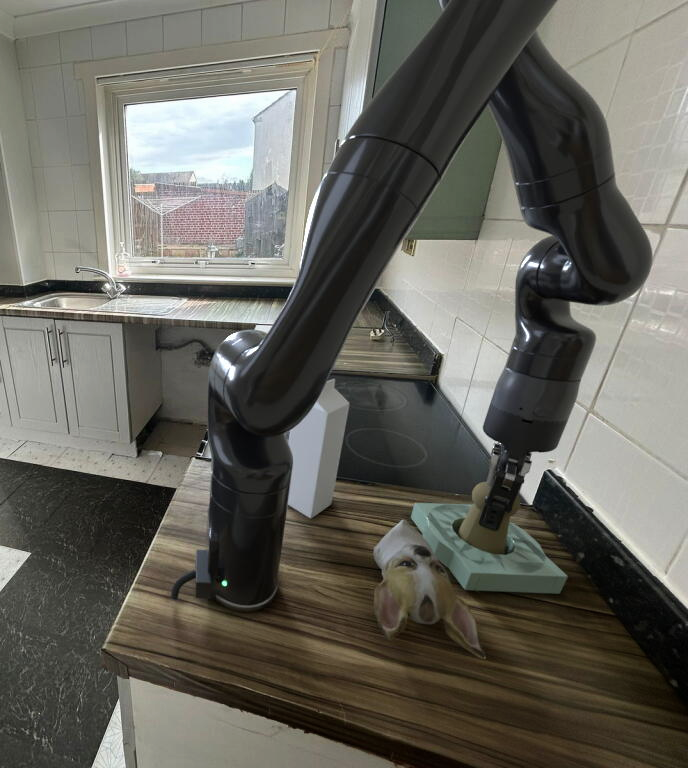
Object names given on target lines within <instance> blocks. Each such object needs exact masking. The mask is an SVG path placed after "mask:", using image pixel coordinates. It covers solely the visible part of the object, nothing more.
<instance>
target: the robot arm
mask: <svg viewBox="0 0 688 768" xmlns="http://www.w3.org/2000/svg"><path fill="white" fill-rule="evenodd" d="M438 1H439V5H440V7H441V9H442V12H441V13H440V14H439V16H438V17H437V18H436V20H435V21H434V23H433V24H432V25H431V26H430V28H429V29H428V31H426V33H425V34H424V35H423V37H422V38H421V39H420V40H419V41H418V43H417V44H416V45H415V46H414V47H413V49H412V50H411V51H410V52H409V53H408V55H407V56H406V57H405V58H404V60H403V61H402V62H400V64H399V65H398V66H397V67H396V69H395V70H394V71H393V72H392V74H390V76H389V77H388V78H387V80H386V81H385V82H384V83H383V85H382V86H381V87H380V88H379V89H378V91H377V92H376V93H375V94H374V95H373V97H372V98H371V100H370V101H369V102H368V103H367V105H366V106H365V107H364V109H363V110H362V112H360V114H359V116H358V117H357V118H356V120H355V121H354V123H353V125H352V126H351V127H350V129H349V131H348V132H347V134H346V136H345V137H344V139H343V141H342V142H341V144H340V146H339V148H338V150H337V151H336V153H335V155H334V157H333V159H332V161H331V163H330V164H329V167H328V169H327V170H326V172H325V174H324V176H323V177H322V179H321V181H320V183H319V186H318V188H317V190H316V192H315V194H314V197H313V198H312V202H311V205H310V209H309V212H308V217H307V221H306V226H305V231H304V238H303V244H302V251H301V257H300V264H299V267H298V271H297V274H296V278H295V281H294V284H293V287H292V289H291V291H290V293H289V295H288V297H287V300H286V301H285V303H284V305H283V306H282V308H281V310H280V312H279V313H278V315H277V317H276V318H275V320H274V321H273V323H272V326H271V327H270V329H269V330H268V331H267V332H266V331H263V330H259V329H244V330H240V331H236V332H235V333H233V334H231V335H229V336H228V337H226V338H225V339H224V340H223V341H222V342H221V343H220V344H219V345H218V347H217V348H216V350H215V351H214V354H213V356H212V358H211V360H210V365H209V370H208V377H207V409H206V410H207V412H206V413H207V414H206V415H207V417H206V419H207V421H206V424H207V425H206V426H207V427H206V428H207V429H206V430H207V431H206V432H207V441H208V446H209V452H210V482H209V501H208V503H209V504H208V507H207V513H206V515H207V516H206V533H205V534H206V535H205V536H206V537H205V549H196V550H195V564H194V565H195V569H192V570H190V571H188V572H187V573H184V574H183V575H181V576H180V577H178V578H177V579H176V581H174V584H172V585H173V586H172V587H171V593H170V598H171V600H175V601H177V600H178V598H179V595H180V594H179V593H180V589H181V588H182V587H183V586H184V585H185V584H186V583H188V582H190V581H192V580H194V579H195V599H205V600H206V599H207V600H212V601H216V602H217V603H219V604H220V605H222V606H223V607H225V608H228V609H230V610H233V611H235V612H241V613H252V612H253V613H254V612H257V611H260V610H263V609H265V608H266V607H269V605H271V603H272V602H273V601H274V600H275V598H276V597H277V594H278V593H277V592H278V587H279V586H278V585H279V571H280V565H281V557H282V549H283V542H284V537H285V536H284V534H285V528H286V519H287V512H288V506H289V505H288V499H289V491H290V484H291V476H292V469H293V455H292V452H291V449H290V446H289V444H288V443H289V440H288V439H287V436H286V433H288V432H290V430H291V429H293V428H294V427H295V426H297V425H298V424H299V423H300V422H301V421H302V420H303V419H304V418H305V417H306V416H307V415H308V413H309V412H310V411H311V409H312V408H313V406H314V405H315V403H316V401H317V399H318V398H319V396H320V394H321V392H322V390H323V388H324V386H325V384H326V382H327V381H329V378H330V376H331V374H332V372H333V369H334V367H335V365H336V363H337V362H338V359H339V357H340V355H341V353H342V351H343V348H344V347H345V344H346V342H347V340H348V338H349V337H350V334H351V332H352V330H353V329H354V326H355V325H356V322H357V321H358V319H359V317H360V315H361V313H362V311H363V310H364V308H365V306H366V305H367V303H368V301H369V299H370V298H371V296H372V294H373V293H374V292H375V289H376V288H377V287H378V284H379V283H380V281H381V279H382V277H383V276H384V274H385V272H386V270H387V268H388V267H389V265H390V263H391V262H392V260H393V259H394V257H395V255H396V253H397V251H399V249H400V247H401V245H402V243H403V242H404V241H405V238H406V237H408V235H409V233H410V232H411V230H412V229H413V227H414V226H415V224H416V223H417V221H418V219H419V218H420V216H421V214H422V213H423V211H425V208H426V207H427V205H428V203H429V201H430V200H431V198H432V197H433V195H434V193H435V192H436V190H437V189H438V187H439V185H440V183H441V182H442V180H443V178H444V176H445V175H446V173H447V171H448V169H449V167H450V166H451V164H452V162H453V161H454V159H455V157H456V156H457V154H458V152H459V150H460V149H461V147H462V145H463V144H464V142H465V141H466V139H467V137H468V136H469V135H470V132H471V131H472V129H473V128H474V127H475V125H476V123H477V122H478V120H479V119H480V117H481V115H482V114H483V112H484V111H485V109H486V108H487V107H488V109H489V111H490V113H491V117H492V119H493V120H494V122H495V125H496V127H497V130H498V133H499V135H500V138H501V141H502V144H503V146H504V150H505V154H506V158H507V161H508V164H509V169H510V174H511V176H512V181H513V185H514V189H515V194H516V198H517V202H518V206H519V211H520V214H521V217H522V220H523V222H524V224H526V225H527V226H528V227H529V228H531V229H533V230H537V231H539V232H542V233H546V234H548V235H549V236H547V237H545V238H543V239H541V240H539V241H538V242H536V243H535V244H534V245H533V246H532V247H531V248H530V249H529V250H528V251H527V252H526V254H525V256H524V257H523V259H522V260H521V262H520V264H519V265H518V266H519V267H518V268H517V272H516V277H515V282H514V283H515V286H514V296H515V297H514V324H515V325H514V326H515V333H514V334H515V335H514V338H513V341H512V343H511V347H510V350H509V353H508V355H507V359H506V362H505V365H504V368H503V370H502V372H501V374H500V376H499V377H498V379H497V382H496V385H495V387H494V390H493V393H492V397H491V400H490V403H489V406H488V409H487V412H486V416H485V418H484V422H483V425H482V431H483V433H484V434H485V435H486V436H487V437H488V438H489V439H491V440H493V441H494V443H493V445H492V448H491V452H490V455H491V456H490V459H489V464H488V466H487V467H488V470H489V471H488V473H487V475H486V480H485V482H487V484H488V485H489V489H488V493H487V496H485V498H484V500H485V504H484V507H483V510H482V513H481V515H480V518H479V525H480V526H482V527H485V528H487V529H490V530H493V531H498V530H499V528H500V525H501V523H502V520H503V517H504V515H505V512H506V513H510V511H512V506H513V504H514V501H515V499H516V497H517V495H518V494H519V493H520V492H521V489H522V486H523V484H524V483H525V478H526V475H527V474H529V473H530V471H531V467H532V463H533V460H531V458H532V454H533V453H549V452H552V451H554V450H556V449H557V448H558V446H559V444H560V442H561V439H562V436H563V433H564V431H565V428H566V426H567V423H568V421H569V419H570V416H571V414H572V412H573V409H574V407H575V405H576V402H577V398H578V395H579V390H580V385H581V382H582V379H583V377H584V374H585V371H586V369H587V366H588V365H589V363H590V359H591V356H592V354H593V352H594V349H595V346H596V343H597V335H596V333H595V331H594V330H593V329H591V328H589V327H588V326H587V325H585V324H583V323H580V322H579V321H577V320H576V319H574V317H573V316H572V313H571V303H575V304H580V305H586V306H594V307H595V306H596V307H597V306H598V307H599V306H600V307H601V306H602V307H603V306H604V307H605V306H611V305H616V304H619V303H621V302H623V301H625V300H627V299H629V298H631V297H632V296H634V294H636V293H637V292H638V291H639V290H640V289H641V288H642V287H643V286H644V285H645V283H646V281H647V279H648V278H649V276H650V273H651V270H652V268H653V267H652V265H653V261H654V260H653V258H654V257H653V248H652V244H651V241H650V237H648V234H647V232H646V231H645V229H644V227H643V226H642V224H641V222H640V220H639V219H638V217H637V215H636V213H635V212H634V211H633V208H632V206H631V205H630V203H629V201H628V200H627V198H626V196H624V195H623V193H622V192H621V190H620V189H619V188H618V185H617V180H616V172H615V164H614V157H613V156H614V155H613V150H612V143H611V137H610V131H609V127H608V122H607V120H606V118H605V114H604V113H603V111H602V109H601V107H600V106H599V104H598V103H597V101H596V100H595V98H594V97H593V96H592V95H591V94H590V92H589V91H587V89H586V88H585V87H584V86H582V85H581V84H580V82H578V81H577V80H576V79H575V78H574V77H573V76H572V75H571V74H570V73H569V72H568V71H567V70H566V69H564V68H563V66H562V65H561V64H560V63H559V62H558V61H557V60H556V59H555V58H554V56H552V54H551V52H550V50H548V48H547V47H546V45H545V44H544V42H543V41H542V40H543V39H541V36H540V35H539V32H538V28H539V27H540V25H541V24H542V23H543V22H544V20H545V19H546V17H547V16H548V14H550V12H551V10H552V9H553V8H554V6H555V5H556V4H557V2H558V1H559V0H438ZM496 442H498V443H496ZM496 496H500V497H503V498H506V500H505V499H502V498H499V497H496Z"/></svg>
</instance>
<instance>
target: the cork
mask: <svg viewBox="0 0 688 768" xmlns="http://www.w3.org/2000/svg"><path fill="white" fill-rule="evenodd" d="M488 489H489V485H488V484H487V482H486V481H482V482H479V483H477V484H476V485H475V486H474V488H473V489H472V492H471V499H472V500H471V501H472V502H473V504H471V505H472V507H471V509H470V511H469V512H468V514H467V516H466V518H465V520H464V521H463V523H462V525H461V527H460V528H459V530H458V532H457V535H458V537H459V538H460V539H462V540H463V541H465V542H466V543H468V544H469V545H470V546H473V547H475V548H477V549H479V550H481V551H484V552H488V553H492V554H498V555H504V550H505V544H506V538H507V533H508V527H509V521H510V520H511V517H512V516H515V515H516V514H517V512H519V510H520V508H521V499H520V496H519V495H518V494H517V497H516V499H515V501H514V504H513V506H512V511H510V513H506V512H505V515H504V517H503V520H502V523H501V525H500V528H499V530H498V531H493V530H490V529H487V528H485V527H482V526H480V525H479V518H480V515H481V513H482V510H483V507H484V504H485V500H484V498H485V496H487V493H488ZM496 497H499V498H502V499H505V500H506V498H503V497H500V496H496ZM510 522H511V521H510Z"/></svg>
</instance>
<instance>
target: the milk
mask: <svg viewBox="0 0 688 768" xmlns="http://www.w3.org/2000/svg"><path fill="white" fill-rule="evenodd" d="M335 385H336V379H335V378H332V379H328V380H327V382H326V384H325V386H324V388H323V390H322V392H321V394H320V396H319V398H318V399H317V401H316V403H315V405H314V406H313V408H312V409H311V411H310V412H309V413H308V415H307V416H306V417H305V418H304V419H303V420H302V421H301V422H300V423H299V424H298V425H297V426H295V427H294V428H293V429H291V430H290V431H289V436H288V444H289V446H290V449H291V452H292V455H293V469H292V476H291V484H290V491H289V499H288V506H290V507H291V508H293V509H294V510H296V511H298V512H299V513H301V514H302V515H304V516H306V517H307V518H309V519H310V520H311V519H313V518H314V517H316V516H317V515H318V514H320V513H321V512H322V511H324V510H326V509H327V508H328V507H330V506H331V505H332V503H333V497H334V491H335V487H336V481H337V475H338V471H339V465H340V459H341V453H342V448H343V444H344V443H343V442H344V437H345V431H346V427H347V426H346V425H347V420H348V415H349V410H350V402H349V401H348V399H346V398H345V397H344V396H343V395H342V394H341V393H340V392H339V391H338V389H336V388H335V387H336V386H335Z"/></svg>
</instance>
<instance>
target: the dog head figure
mask: <svg viewBox="0 0 688 768" xmlns="http://www.w3.org/2000/svg"><path fill="white" fill-rule="evenodd" d="M381 538H382V539H380V541H379V542H378V543H377V544H376V545H375V546H374V548H373V559H374V561H375V562H376V565H377V566H378V567H379V568H380V570H381V575H382V578H383V580H382V581H381V582H380V583H379V584H377V586H376V587H375V589H374V591H373V595H374V596H373V608H374V614H375V618H376V622H377V625H378V627H379V629H380V631H381V632H382V634H383V636H384V637H385V639H386V640H387V641H388V642H391V641H392V640H394V638H395V637H397V636H398V635H400V634H402V632H404V631H405V630H406V628H407V625H408V620H410V621H412V622H415V623H418V624H421V625H422V624H423V625H434V624H436V623H437V622H439V621H440V620H442V622H443V626H444V630H445V633H446V634H447V636H448V637H449V638H450V639H451V640H452V641H453V642H455V643H456V644H457V645H459V646H460V647H462V648H463V649H465V650H466V651H468V652H470V653H471V654H473V655H474V656H475V657H477V658H478V659H481V660H486V659H487V657H486V654H485V652H484V650H483V648H482V643H481V638H480V633H479V630H478V624H477V620H476V618H475V616H474V614H472V612H471V609H470V607H469V605H468V604H467V603H466V602H465V601H464V600H463V599H461V597H459V596H458V595H456V594H455V592H454V588H453V585H452V583H451V581H450V578H449V575H448V573H447V571H446V570H445V568H444V566H443V564H442V563H441V562H440V561H439V560H438V559H437V558H436V556H435V554H434V553H433V551H432V549H431V547H430V545H429V544H428V542H427V541H426V540H425V539H424V538H423V534H422V533H420V532H419V531H418V530H417V529H416V528H414V527H413V526H412V525H411V524H410V523H409V522H408V521H407V520H406V519H402V520H400V521H399V522H398V523H397V524H396V525H395V526H393V527H392V528H391V529H390V530H389V531H388V532H387V533H385V535H384V536H383V537H381Z"/></svg>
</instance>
